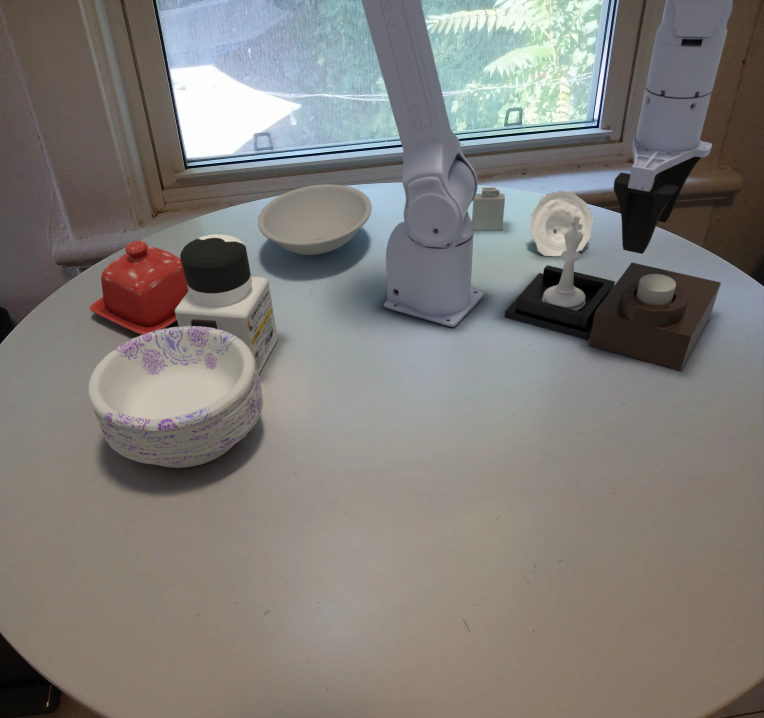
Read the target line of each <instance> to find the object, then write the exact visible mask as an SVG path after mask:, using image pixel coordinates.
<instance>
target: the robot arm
mask: <svg viewBox="0 0 764 718" xmlns="http://www.w3.org/2000/svg"><path fill="white" fill-rule="evenodd" d="M421 1H422V0H361V4H362V7H363V11H364V14H365V19H366V21H367V26H368V28H369V33H370V36H371V40H372V44H373V48H374V50H375V54H376V58H377V62H378V65H379V69H380V72H381V75H382V76H381V77H382V80H383V83H384V86H385V90H386V93H387V97H388V101H389V104H390V108H391V111H392V115H393V119H394V122H395V126H396V130H397V133H398V136H399V141H400V144H401V147H402V151H403V152H402V153H403V156H402V173H401V176H402V177H401V181H402V183H401V184H402V186H403V190H404V194H405V203H404V208H403V221H401V222H399V223H398V224H397V225H395V227H394V228H393V230H392V231H391V233H390V236H389V237H388V241H387V244H386V245H387V246H386V251H385V268H386V270H385V271H386V272H385V273H386V297H387V300H386V301H385V302H384V304H383V305H384V308H385V309H388V310H391V311H395V312H398V313H401V314H404V315H409V316H412V317H416V318H419V319H423V320H426V321H430V322H432V323H433V322H434V323H437V324H439V325H444V326H447V327H451V328H452V327H453V328H454V327H456V326H457V325H458V324H459V323H460V322H461V321H462V320H463V319H464V318H465V316H467V314H468V313H470V311H471V310H472V309H473V308H474V307H475V306H476V305H477V304H478V303H479V302H480V301H481V299H483V298H484V292H483V291H480V290H476V289H473V288H472V271H473V252H474V235H475V234H474V233H475V230H474V226H473V223H472V218H470V214H469V212H468V210H469V208H470V205H471V203H473V200H474V197H475V195H476V194H477V193H478V186H479V183H478V182H479V181H478V175H477V173H476V170H475V168H474V167H473V166H472V164H471V163H470V162H469V160H468V159H467V158H466V157H465V155H464V152H463V148H462V145H461V141H460V139H459V138H458V136H457V134H455V132H454V131H453V130H452V129H451V124H450V119H449V116H448V111H447V107H446V104H445V103H446V102H445V99H444V94H443V91H442V86H441V81H440V77H439V74H438V73H439V72H438V70H437V65H436V61H435V56H434V53H433V48H432V44H431V40H430V35H429V31H428V26H427V23H426V18H425V14H424V10H423V5H422V2H421ZM733 1H734V0H665V2H664V9H663V13H662V18H661V22H660V23H659V25H658V27H657V29H656V32H655V37H654V42H653V47H652V52H651V58H650V63H649V68H648V72H647V77H646V78H647V79H646V82H645V87H644V93H643V99H642V102H641V108H640V114H639V118H638V123H637V129H636V134H635V135H634V136H633V139H632V143H631V152H632V163H633V164H632V165H631V169H630V173H627V172H620V173H618V175H617V176H616V177H615V178H614V181H613V192H614V194H615V196H616V199H617V203H618V206H619V210H620V218H621V238H622V239H621V243H622V250H623V251H627V252H632V253H636V254H641V255H643V254H644V253H645V251H646V250H647V248H648V246H649V245H650V242H651V240H652V238H653V235H654V233H655V230H656V227H657V225H658V222H661V223H666V222H667V221H668V220H669V218H670V216H671V215H672V212H673V210H674V208H675V205H676V204H677V202H678V199H679V197H680V195H681V192H682V191H683V188H684V186H685V184H686V181H687V180H688V179H689V176H690V175H691V173H692V171H693V169H694V168H695V166H696V165H697V164H698V162H699V161H700V160H701V159H702V158H706V157H708V156H709V155H710V153H711V151H712V148H713V144H712V143H711V142H707V141H702V140H701V135H702V132H703V129H704V124H705V120H706V116H707V112H708V109H709V105H710V101H711V97H712V93H713V89H714V86H715V82H716V78H717V75H718V70H719V67H720V62H721V58H722V53H723V50H724V46H725V42H726V40H727V35H728V28H727V24H728V21H729V19H730V18H731V15H732V11H733V5H734V3H733Z"/></svg>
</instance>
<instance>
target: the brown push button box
mask: <svg viewBox="0 0 764 718" xmlns="http://www.w3.org/2000/svg"><path fill="white" fill-rule="evenodd" d="M649 274H661V275H665V276H668V277H670V278H672V279H673V280H674V281H675V282H676V288H675V291H674V295H673V299H672V301H671V303H669V304H666V305H651V304H647V303H643V302H641V301H640V300H638V299H637V297H636V294H637V290H638V285H639V281H640V279H641V278H642V277H643V276H645V275H649ZM721 284H722V282H721V281H716V280H711V279H708V278H703V277H698V276H694V275H691V274H690V275H689V274H686V273H680V272H676V271H672V270H667V269H663V268H659V267H655V266H649V265H645V264H642V263H637V262H630V263H629V265H628V267H627V268H626V269H625V271H624V272H623V273H622V275H621V276H620V278H618V280H617V281H616V282H615V285H614V287H613V288H612V290H611V291H610V292H609V294H608V295H607V296H606V298H605V299H604V300H603V302H602V303H601V305H600V306H599V307H598V309H597V310H596V311H595V315H594V320H593V326H592V331H591V335H590V337H589V341H588V346H590V347H593V348H597V349H600V350H604V351H608V352H610V353H615V354H618V355H623V356H626V357H629V358H633V359H637V360H640V361H645V362H648V363H650V364H651V363H652V364H655V365H658V366H662V367H666V368H670V369H673V370H676V371H682V369H683V367H684V366H685V364H686V363H687V362H686V361H687V360H688V358H689V356H690V354H691V352H692V351H693V349H694V347H695V346H696V343H697V341H698V340H699V338H700V336H701V335H702V332H703V330H704V329H705V327H706V325H707V323H708V321H709V319H710V318H711V315H712V312H713V309H714V306H715V303H716V301H717V297H718V294H719V291H720V288H721Z"/></svg>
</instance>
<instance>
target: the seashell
mask: <svg viewBox="0 0 764 718" xmlns="http://www.w3.org/2000/svg"><path fill="white" fill-rule="evenodd" d="M575 216H578V217H580V218H579V224H581V225H582V229H581V230H578V231H579V232H581V233H582V234H583V239H582V241H581V242H580V244H579V246H578V248H577V250H576V251H577V252H580V251H583V250H584V248H585V246H586V245H587V243H588V241H589V240H590V239H591V237H592V234H593V233H592V232H591V231H592V228H593V223H594V221H595V218H594V215H593V214H592V212H591V208H590V207H588V203H587V202H586V201H585V200H583V199H582V198H580V197H579V196H578V195H576V193H574V192H573V191H568V190H567V191H566V190H565V191H564V190H558V191H555V192H554V191H552V192H550V193H546V194H545V195H542V197H540V199H539V201H538V203H537V204H536V206H534V209H533V210H532V212H531V213H530V217H531V218H530V226H529V232H530V234H531V237H532V238H533V240H534V243H535V245H536V248H537V251H538V253H540V254H541V255H543V256H544V257H547V256H549V257H561V254H562V252H563V251H566V250H567V249H566V243H565V238H564V234H565V233H566V232H568V231H571V230H572V226H571V225H569V220H572V219H574V217H575Z"/></svg>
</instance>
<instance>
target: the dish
mask: <svg viewBox="0 0 764 718" xmlns="http://www.w3.org/2000/svg"><path fill="white" fill-rule="evenodd" d="M372 210H373V205H372V202H371V199H370V198H369V196H367V194H365V193H364V192H363V191H361V190H359V189H357V188H354V187H352V186H347V185H342V184H332V183H331V184H330V183H329V184H327V183H326V184H325V183H324V184H313V185H308V186H303V187H299V188H296V189H293V190H289V191H288V192H285V193H283V194H281V195H279V196H277V197H276V198H273V199H272V200H270V202H268V203H267V204H266V205H265V206H264V207H263V208H262V209H261V211H260V213H259V215H258V218H257V227H258V229H259V232H260V233H261V234H262V235H263V236H264V237H265V238H266V239H268V240H270V241H272V242H274V243H276V244H277V245H278V246H279V247H281V248H283V249H284V250H287V251H289V252H291V253H294V254H298V255H305V256H316V255H322V254H327V253H330V252H333V251H335V250H337V249H339V248H341V247H342V246H344V245H345V244H346V243H348V242H349V241H350V240H351V239H353V237H354V236H355V235H356V234H357V233H358V231H359V230H360V229H361V228H362V227H363V226H364V225H365V224H366V223H367V221H368V220H369V219H370V217H371V214H372Z"/></svg>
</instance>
